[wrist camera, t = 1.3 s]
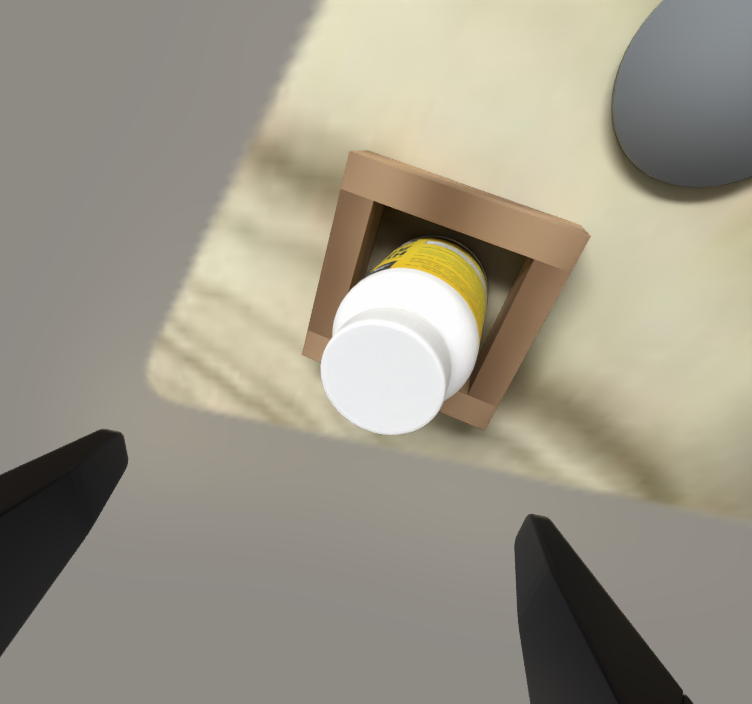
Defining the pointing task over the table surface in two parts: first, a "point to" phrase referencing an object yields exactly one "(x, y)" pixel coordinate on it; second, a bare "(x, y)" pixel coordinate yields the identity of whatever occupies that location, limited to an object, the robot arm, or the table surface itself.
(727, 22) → the coaster
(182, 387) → the table surface
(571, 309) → the table surface
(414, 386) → the supplement bottle
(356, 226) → the wooden frame
